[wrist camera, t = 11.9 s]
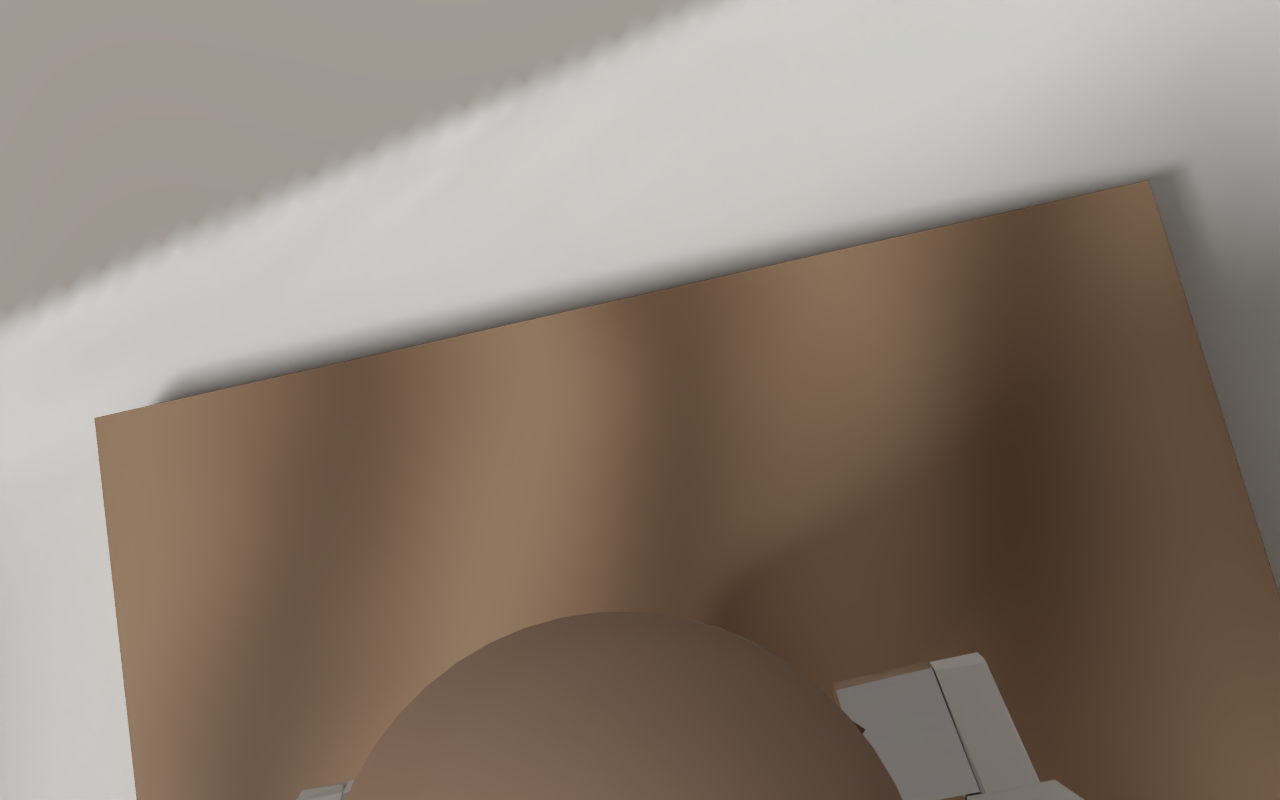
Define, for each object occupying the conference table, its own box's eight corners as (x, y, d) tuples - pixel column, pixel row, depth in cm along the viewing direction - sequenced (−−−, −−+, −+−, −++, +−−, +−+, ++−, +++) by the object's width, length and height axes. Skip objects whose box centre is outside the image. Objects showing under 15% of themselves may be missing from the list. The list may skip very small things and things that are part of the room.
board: (1127, 203, 22) (1148, 179, 21) (1408, 1111, 19) (1451, 1143, 18) (127, 428, 23) (94, 417, 22) (232, 1327, 20) (200, 1370, 19)
